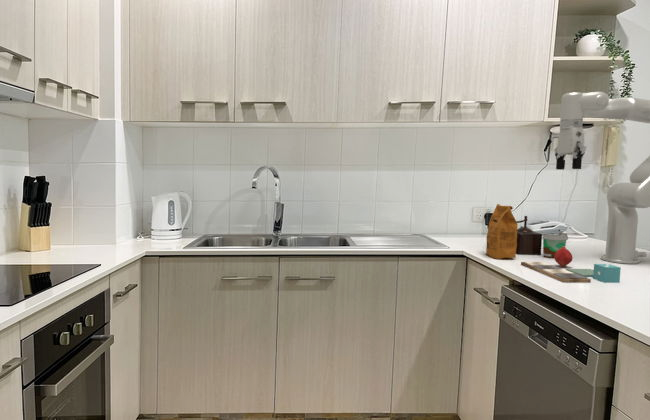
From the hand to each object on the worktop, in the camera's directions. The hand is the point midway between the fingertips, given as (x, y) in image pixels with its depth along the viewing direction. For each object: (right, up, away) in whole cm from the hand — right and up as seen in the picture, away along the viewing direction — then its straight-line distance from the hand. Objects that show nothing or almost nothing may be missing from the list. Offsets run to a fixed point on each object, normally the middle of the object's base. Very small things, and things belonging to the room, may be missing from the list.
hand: (568, 169), depth 154 cm
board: (-16, -38, -17) cm, 45 cm away
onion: (-7, -38, -8) cm, 39 cm away
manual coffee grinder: (-10, -35, +20) cm, 42 cm away
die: (-4, -39, -27) cm, 48 cm away
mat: (-5, -38, -18) cm, 43 cm away
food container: (+1, -36, +9) cm, 38 cm away
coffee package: (-23, -36, +9) cm, 44 cm away
